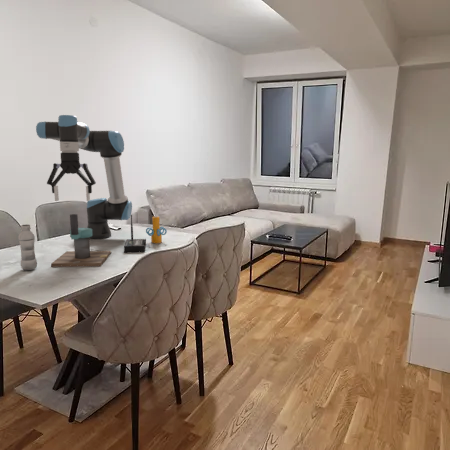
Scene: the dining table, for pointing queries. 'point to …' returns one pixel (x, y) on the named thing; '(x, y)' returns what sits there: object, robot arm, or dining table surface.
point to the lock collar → (78, 229)
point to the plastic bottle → (27, 248)
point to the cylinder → (156, 230)
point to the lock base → (83, 262)
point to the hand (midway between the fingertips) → (72, 200)
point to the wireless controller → (134, 243)
